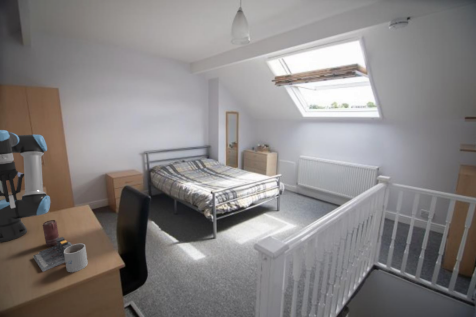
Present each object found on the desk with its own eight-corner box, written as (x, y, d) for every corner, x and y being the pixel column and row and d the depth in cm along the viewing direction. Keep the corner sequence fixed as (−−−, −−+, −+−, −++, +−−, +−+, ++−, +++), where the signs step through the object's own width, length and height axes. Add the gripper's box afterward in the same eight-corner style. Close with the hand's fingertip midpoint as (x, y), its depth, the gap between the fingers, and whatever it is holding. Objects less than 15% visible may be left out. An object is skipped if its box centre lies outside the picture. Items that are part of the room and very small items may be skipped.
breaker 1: (57, 247, 122) (56, 239, 121) (64, 244, 125) (62, 236, 124) (59, 249, 121) (57, 241, 120) (65, 246, 123) (64, 238, 122)
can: (52, 247, 125) (48, 225, 122) (43, 246, 126) (39, 224, 123) (62, 241, 130) (59, 220, 128) (54, 240, 132) (50, 219, 129)
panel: (33, 258, 116) (32, 254, 115) (69, 244, 128) (69, 240, 128) (42, 271, 106) (41, 267, 105) (81, 255, 118) (80, 251, 118)
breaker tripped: (60, 250, 119) (59, 242, 118) (67, 248, 122) (66, 239, 120) (62, 252, 117) (61, 244, 116) (69, 250, 120) (67, 241, 119)
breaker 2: (64, 254, 116) (62, 246, 115) (70, 252, 118) (69, 243, 117) (66, 256, 114) (64, 248, 113) (72, 254, 117) (71, 245, 116)
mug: (89, 265, 110) (87, 248, 108) (69, 274, 104) (65, 256, 102) (83, 255, 118) (80, 238, 116) (63, 263, 112) (60, 245, 110)
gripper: (-16, 165, 99) (-5, 213, 104) (23, 160, 109) (31, 204, 114) (-18, 163, 103) (-8, 209, 108) (20, 159, 114) (28, 201, 118)
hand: (12, 207), depth 111 cm, fingers closed
